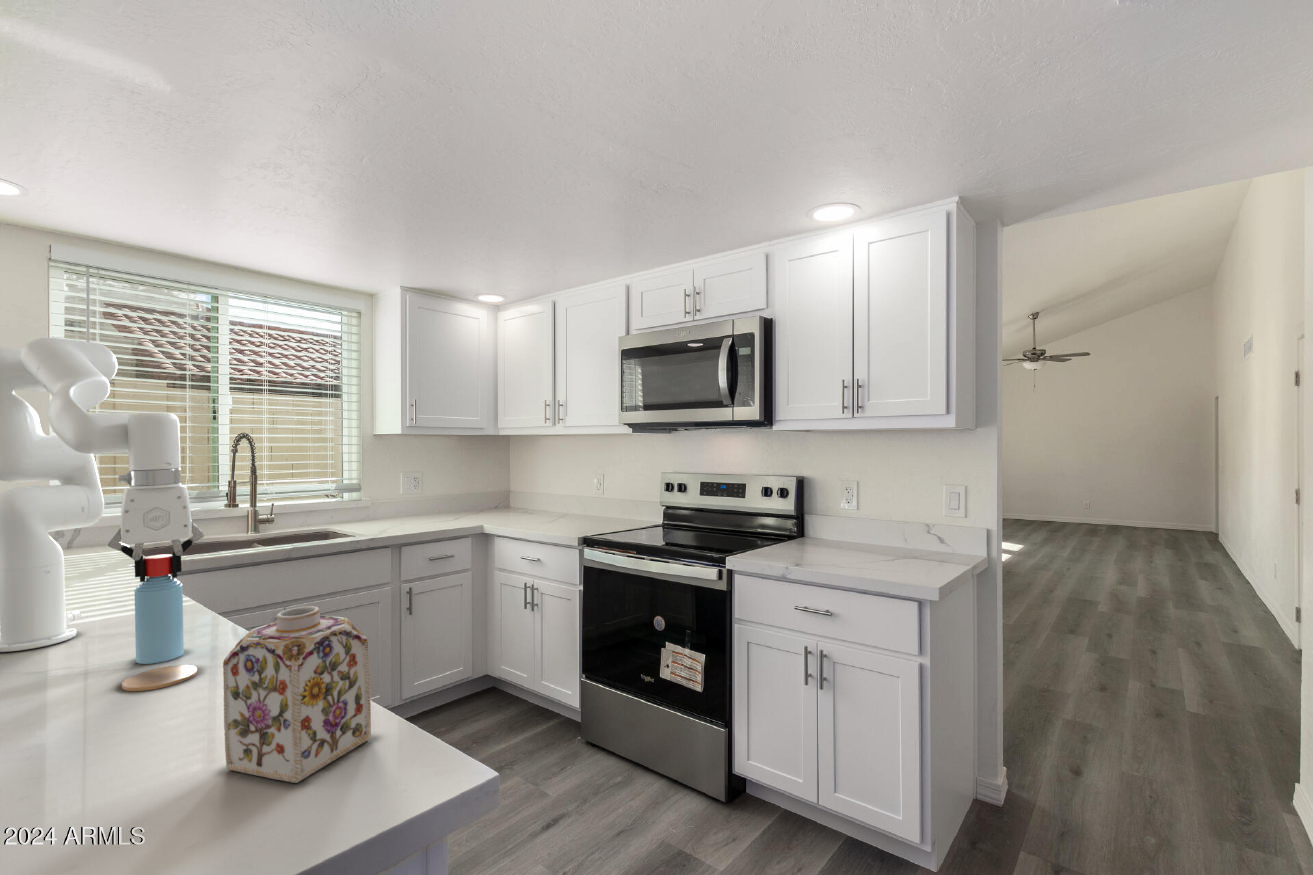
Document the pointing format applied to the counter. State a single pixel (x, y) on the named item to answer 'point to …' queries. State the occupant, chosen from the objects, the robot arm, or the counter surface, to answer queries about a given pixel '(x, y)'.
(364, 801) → the counter surface
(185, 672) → the coaster
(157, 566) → the cap
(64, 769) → the counter surface
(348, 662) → the decorative jar
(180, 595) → the bottle
